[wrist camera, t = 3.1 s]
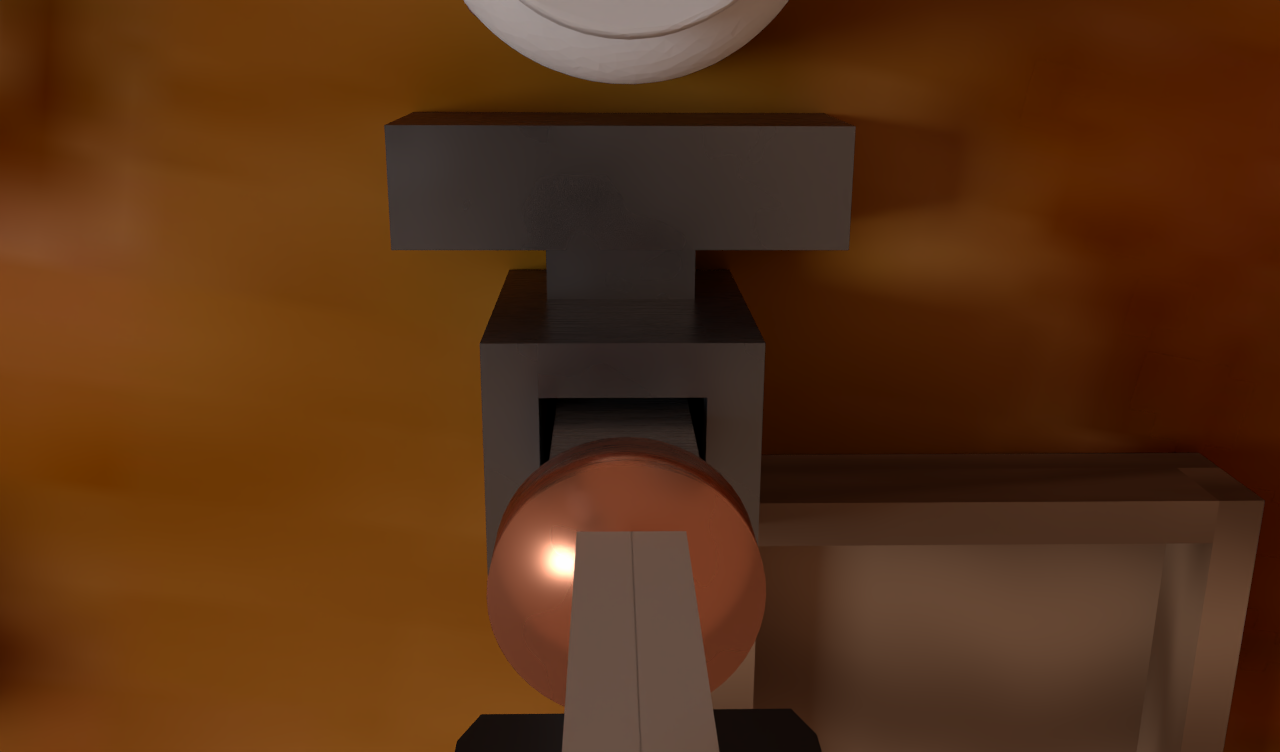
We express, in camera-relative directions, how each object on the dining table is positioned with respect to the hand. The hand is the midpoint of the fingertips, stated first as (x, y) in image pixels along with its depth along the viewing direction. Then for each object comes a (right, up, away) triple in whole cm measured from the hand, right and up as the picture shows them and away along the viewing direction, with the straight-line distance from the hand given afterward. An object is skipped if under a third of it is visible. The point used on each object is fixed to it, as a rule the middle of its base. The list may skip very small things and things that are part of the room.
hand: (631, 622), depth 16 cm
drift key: (0, +2, +8) cm, 8 cm away
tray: (+8, -4, +14) cm, 16 cm away
